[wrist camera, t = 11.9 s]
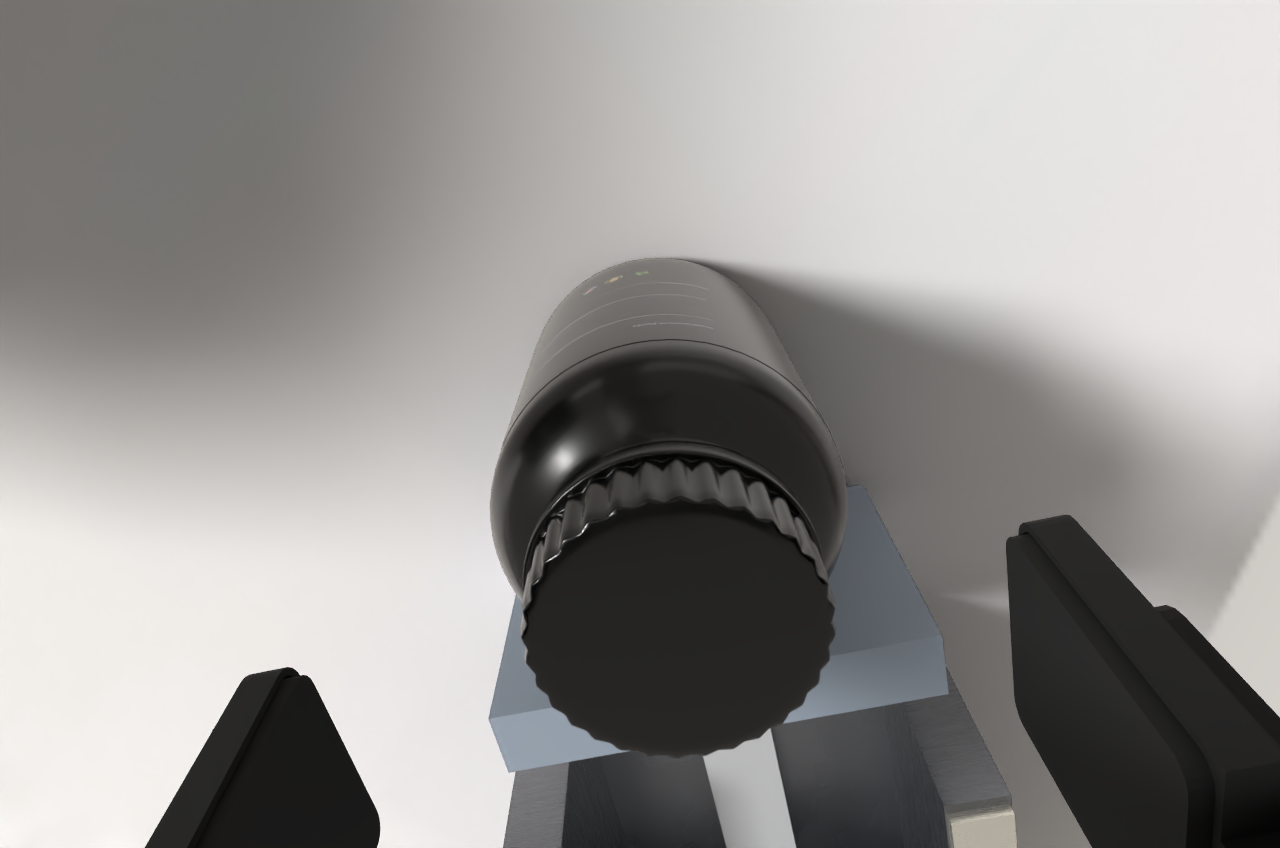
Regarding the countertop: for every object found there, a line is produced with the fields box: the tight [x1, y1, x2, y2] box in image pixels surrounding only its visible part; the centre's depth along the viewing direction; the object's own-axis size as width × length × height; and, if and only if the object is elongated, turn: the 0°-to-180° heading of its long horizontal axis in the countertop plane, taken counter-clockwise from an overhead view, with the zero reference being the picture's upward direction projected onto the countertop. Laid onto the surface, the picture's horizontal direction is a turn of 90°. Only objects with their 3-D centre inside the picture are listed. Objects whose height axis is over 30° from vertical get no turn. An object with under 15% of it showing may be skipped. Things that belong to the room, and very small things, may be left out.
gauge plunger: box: [489, 484, 949, 848], centre depth 24 cm, size 13×12×9 cm
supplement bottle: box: [490, 258, 848, 758], centre depth 18 cm, size 7×7×12 cm
